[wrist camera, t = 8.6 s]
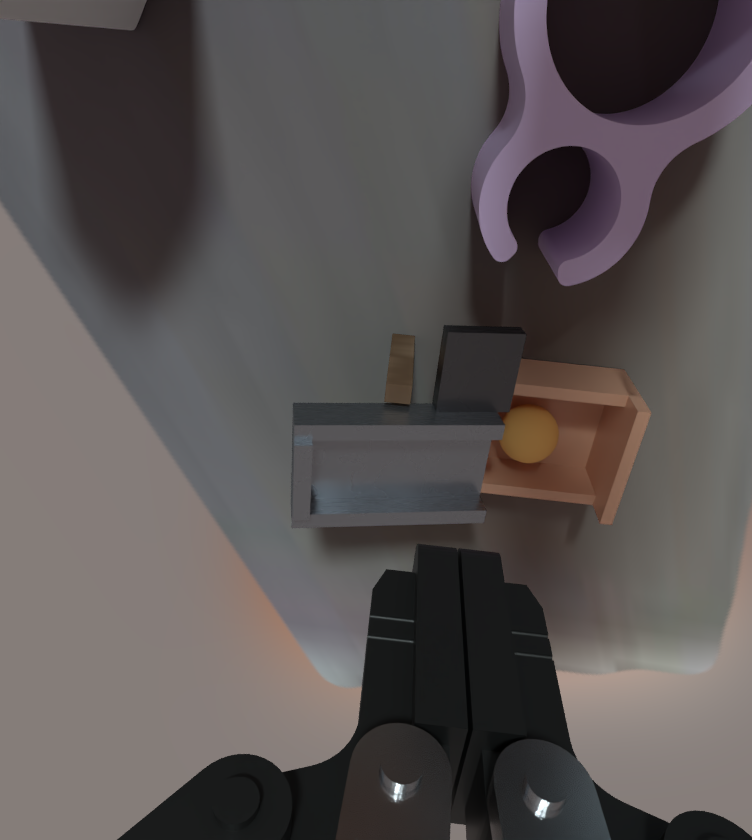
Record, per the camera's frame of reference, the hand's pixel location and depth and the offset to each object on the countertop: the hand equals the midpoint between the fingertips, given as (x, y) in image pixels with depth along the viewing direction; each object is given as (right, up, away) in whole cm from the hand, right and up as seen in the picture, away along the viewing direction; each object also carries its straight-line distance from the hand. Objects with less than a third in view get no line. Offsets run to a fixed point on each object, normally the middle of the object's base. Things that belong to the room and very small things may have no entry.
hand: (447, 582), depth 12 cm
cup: (+10, +3, +33) cm, 35 cm away
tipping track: (0, +3, +26) cm, 26 cm away
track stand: (0, +4, +33) cm, 34 cm away
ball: (+9, +2, +31) cm, 32 cm away
